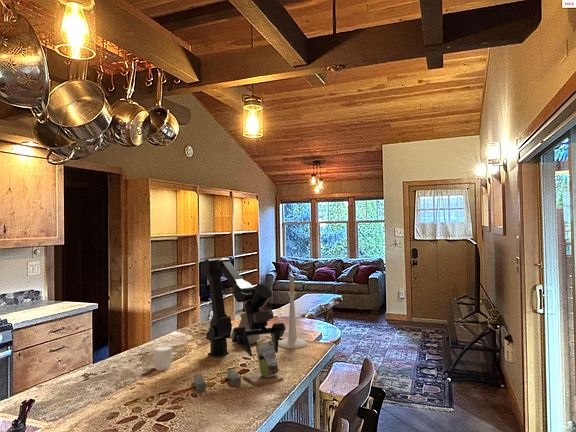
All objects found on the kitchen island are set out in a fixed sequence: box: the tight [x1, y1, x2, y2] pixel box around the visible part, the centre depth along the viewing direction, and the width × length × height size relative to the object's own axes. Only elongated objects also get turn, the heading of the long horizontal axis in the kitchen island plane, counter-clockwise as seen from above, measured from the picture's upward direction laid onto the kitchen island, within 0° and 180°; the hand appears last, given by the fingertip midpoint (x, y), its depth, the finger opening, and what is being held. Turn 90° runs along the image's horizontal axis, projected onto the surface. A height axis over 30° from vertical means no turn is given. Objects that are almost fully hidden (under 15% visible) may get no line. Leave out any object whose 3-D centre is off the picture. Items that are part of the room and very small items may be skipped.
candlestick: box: [278, 277, 308, 350], centre depth 177 cm, size 13×13×30 cm
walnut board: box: [242, 370, 284, 387], centre depth 135 cm, size 10×10×1 cm
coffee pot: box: [237, 312, 261, 346], centre depth 185 cm, size 21×12×15 cm, turn 167°
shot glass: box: [153, 345, 173, 371], centre depth 148 cm, size 7×7×7 cm
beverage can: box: [255, 338, 279, 377], centre depth 136 cm, size 6×7×12 cm
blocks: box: [193, 368, 242, 393], centre depth 131 cm, size 9×14×2 cm, turn 112°
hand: (264, 354), depth 134 cm, fingers open, 9 cm apart
